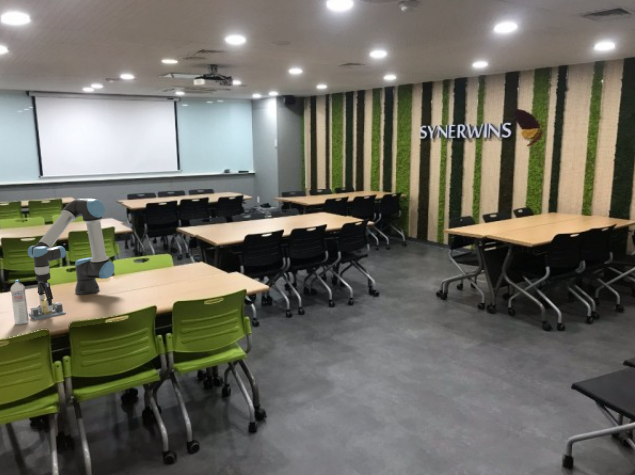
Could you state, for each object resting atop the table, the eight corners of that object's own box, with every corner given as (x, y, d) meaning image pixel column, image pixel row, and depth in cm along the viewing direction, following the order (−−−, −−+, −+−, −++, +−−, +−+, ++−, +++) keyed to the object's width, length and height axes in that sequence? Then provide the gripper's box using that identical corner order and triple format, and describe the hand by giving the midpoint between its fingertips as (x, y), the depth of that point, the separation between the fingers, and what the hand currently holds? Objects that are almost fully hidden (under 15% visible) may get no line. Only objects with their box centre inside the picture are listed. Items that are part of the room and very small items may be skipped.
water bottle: (31, 320, 287) (26, 278, 283) (24, 325, 281) (19, 281, 276) (19, 321, 287) (13, 278, 283) (12, 325, 280) (6, 282, 276)
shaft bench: (28, 314, 298) (27, 304, 297) (57, 308, 309) (56, 298, 308) (36, 320, 288) (34, 309, 287) (65, 313, 299) (64, 303, 298)
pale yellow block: (49, 310, 301) (48, 298, 300) (52, 312, 298) (50, 299, 297) (41, 312, 298) (40, 299, 297) (44, 314, 295) (42, 301, 294)
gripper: (29, 270, 300) (33, 304, 304) (42, 278, 282) (46, 314, 286) (42, 268, 305) (46, 302, 309) (56, 275, 288) (60, 311, 291)
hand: (46, 308), depth 298 cm, fingers open, 13 cm apart
